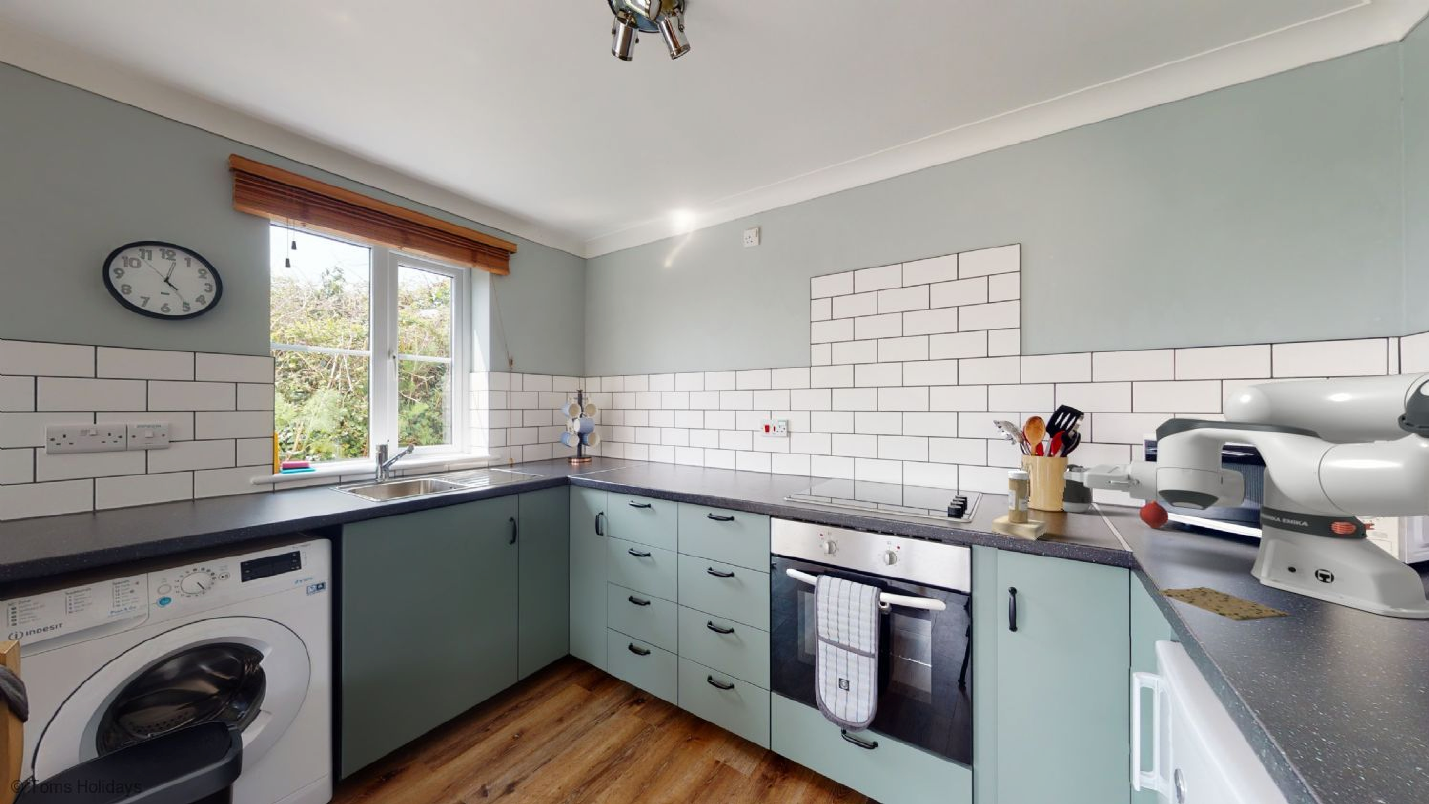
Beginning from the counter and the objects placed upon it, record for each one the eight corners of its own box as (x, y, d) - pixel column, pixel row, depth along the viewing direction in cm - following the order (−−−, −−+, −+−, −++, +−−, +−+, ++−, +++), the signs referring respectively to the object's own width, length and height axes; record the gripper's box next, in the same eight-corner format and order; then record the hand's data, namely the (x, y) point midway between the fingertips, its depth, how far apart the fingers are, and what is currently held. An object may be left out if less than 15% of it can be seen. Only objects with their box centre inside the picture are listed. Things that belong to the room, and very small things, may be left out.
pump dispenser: (1099, 513, 155) (1100, 465, 155) (1080, 516, 150) (1081, 466, 150) (1064, 506, 164) (1065, 461, 164) (1046, 509, 159) (1046, 463, 159)
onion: (1156, 526, 138) (1157, 498, 138) (1173, 531, 133) (1174, 502, 133) (1134, 525, 139) (1134, 497, 139) (1150, 530, 133) (1150, 501, 133)
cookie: (1294, 618, 80) (1294, 612, 80) (1236, 623, 78) (1236, 617, 78) (1208, 590, 92) (1208, 585, 92) (1155, 594, 90) (1155, 589, 90)
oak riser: (1045, 533, 130) (1045, 522, 130) (1035, 540, 123) (1035, 528, 123) (1003, 526, 137) (1003, 515, 137) (991, 532, 130) (991, 521, 130)
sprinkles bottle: (1029, 524, 127) (1029, 472, 127) (1008, 522, 129) (1009, 471, 129) (1026, 520, 131) (1027, 470, 131) (1007, 518, 133) (1007, 469, 133)
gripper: (1134, 499, 105) (1057, 490, 115) (1145, 488, 119) (1076, 481, 129) (1135, 470, 105) (1058, 464, 115) (1146, 462, 119) (1076, 457, 129)
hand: (1067, 472), depth 122 cm, fingers open, 8 cm apart
